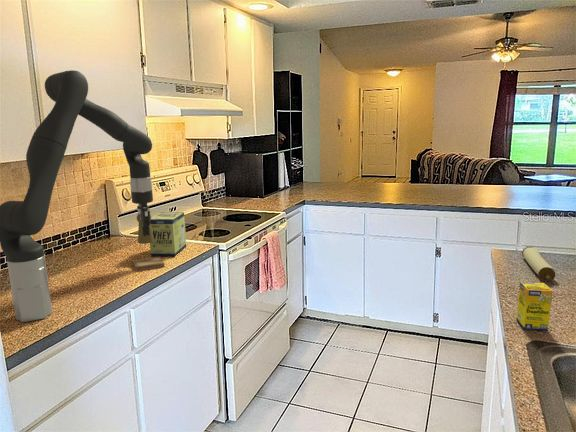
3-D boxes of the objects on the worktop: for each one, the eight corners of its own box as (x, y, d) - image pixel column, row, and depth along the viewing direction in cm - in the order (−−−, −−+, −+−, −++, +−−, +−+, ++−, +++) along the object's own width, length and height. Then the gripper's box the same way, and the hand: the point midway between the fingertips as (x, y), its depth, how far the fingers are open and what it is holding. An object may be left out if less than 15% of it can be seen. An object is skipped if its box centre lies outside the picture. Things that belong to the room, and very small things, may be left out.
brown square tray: (164, 267, 171) (164, 262, 170) (136, 271, 166) (136, 267, 166) (159, 260, 179) (159, 256, 179) (133, 264, 175) (132, 259, 175)
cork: (149, 243, 167) (147, 214, 165) (134, 243, 169) (131, 214, 166) (157, 239, 173) (155, 211, 171) (142, 239, 174) (140, 211, 172)
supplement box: (523, 330, 115) (527, 289, 113) (515, 320, 121) (519, 281, 119) (548, 331, 114) (553, 290, 112) (539, 321, 120) (543, 282, 118)
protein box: (150, 257, 184) (147, 219, 180) (163, 246, 199) (160, 211, 195) (175, 257, 183) (172, 219, 179) (186, 246, 198) (184, 211, 195)
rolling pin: (519, 256, 176) (520, 243, 175) (535, 256, 174) (536, 244, 173) (539, 285, 146) (540, 270, 145) (558, 286, 144) (560, 271, 143)
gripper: (128, 187, 171) (132, 231, 175) (133, 193, 159) (138, 240, 162) (148, 186, 174) (152, 229, 178) (155, 191, 162) (159, 237, 166)
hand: (145, 234), depth 170 cm, fingers closed on cork, 4 cm apart
